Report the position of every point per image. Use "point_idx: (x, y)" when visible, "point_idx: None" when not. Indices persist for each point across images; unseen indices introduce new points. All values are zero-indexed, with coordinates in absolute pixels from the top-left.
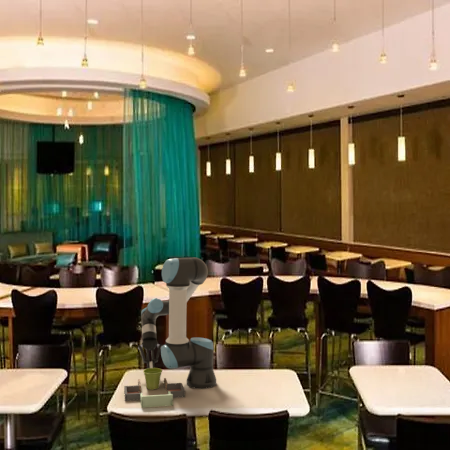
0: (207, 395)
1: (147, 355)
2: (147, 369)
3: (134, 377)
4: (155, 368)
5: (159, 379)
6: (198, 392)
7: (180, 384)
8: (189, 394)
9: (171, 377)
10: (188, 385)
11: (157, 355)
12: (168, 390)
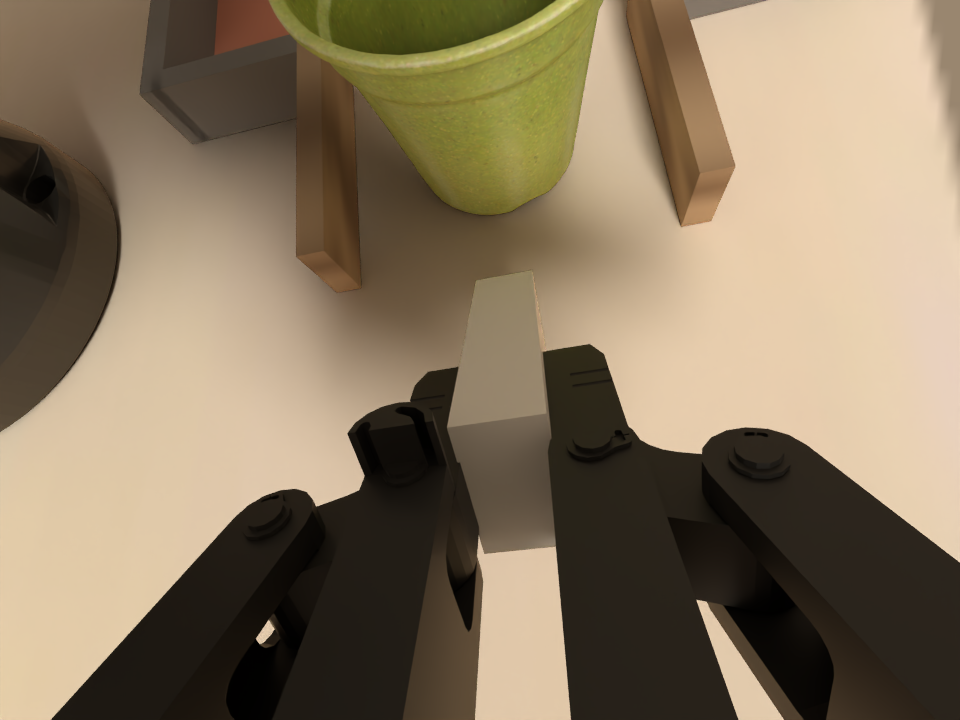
0: (35, 23)
1: (684, 680)
2: (563, 6)
3: None
4: (386, 59)
5: (376, 34)
6: (77, 75)
7: (164, 45)
8: None
9: None
10: (105, 205)
11: (129, 687)
12: None
